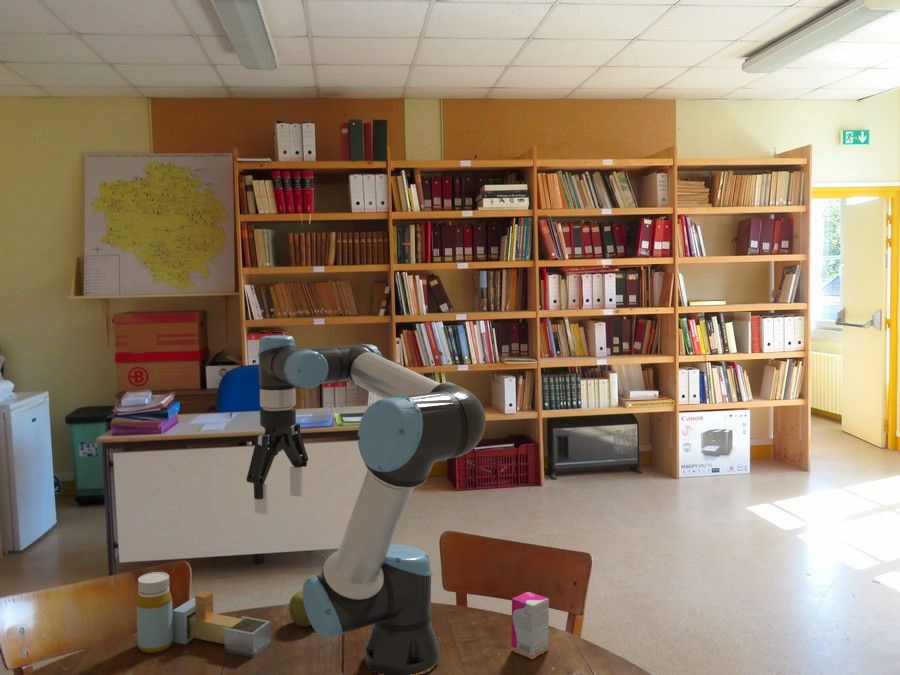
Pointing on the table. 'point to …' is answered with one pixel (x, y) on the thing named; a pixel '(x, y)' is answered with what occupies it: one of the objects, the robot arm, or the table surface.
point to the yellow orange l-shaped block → (209, 620)
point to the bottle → (154, 613)
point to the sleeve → (248, 637)
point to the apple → (298, 610)
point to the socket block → (182, 621)
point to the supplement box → (530, 623)
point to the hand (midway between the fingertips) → (279, 504)
